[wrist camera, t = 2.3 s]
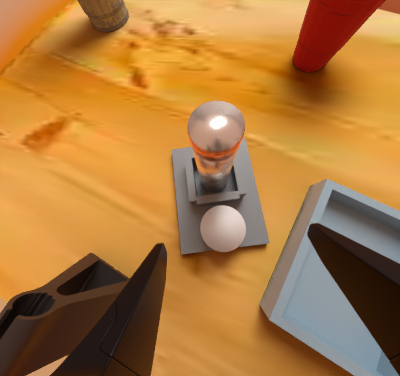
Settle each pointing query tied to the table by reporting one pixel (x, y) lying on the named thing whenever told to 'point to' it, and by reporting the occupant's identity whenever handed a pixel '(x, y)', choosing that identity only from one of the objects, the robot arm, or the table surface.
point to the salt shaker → (215, 141)
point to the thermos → (105, 13)
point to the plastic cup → (329, 29)
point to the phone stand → (56, 315)
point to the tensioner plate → (208, 200)
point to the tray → (324, 283)
